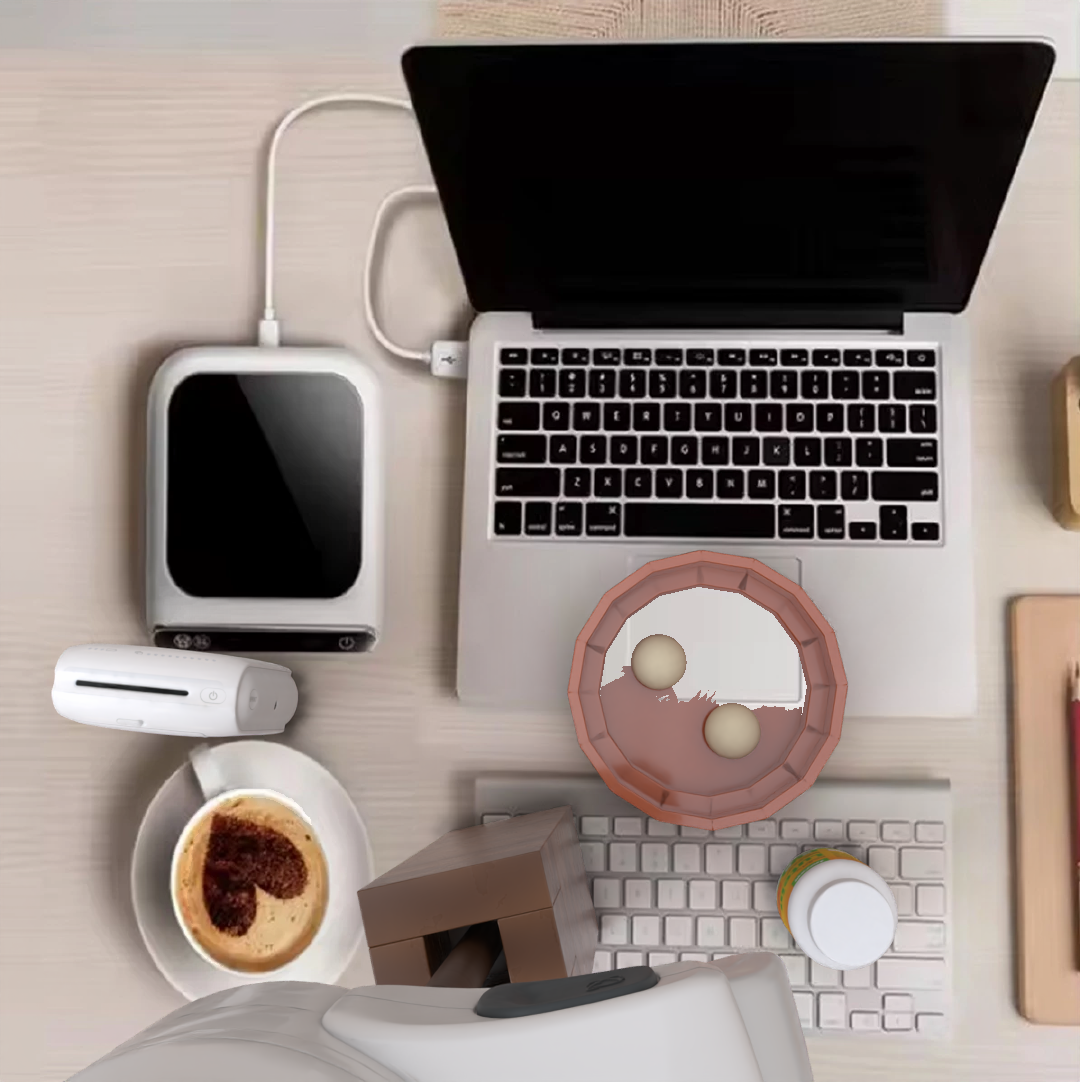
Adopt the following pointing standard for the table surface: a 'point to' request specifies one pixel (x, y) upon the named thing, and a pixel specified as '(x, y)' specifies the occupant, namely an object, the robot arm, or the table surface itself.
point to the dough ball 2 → (732, 731)
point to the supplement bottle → (837, 908)
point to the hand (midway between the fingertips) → (400, 1064)
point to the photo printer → (172, 691)
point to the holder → (486, 902)
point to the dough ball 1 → (658, 661)
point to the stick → (470, 958)
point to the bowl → (705, 704)
